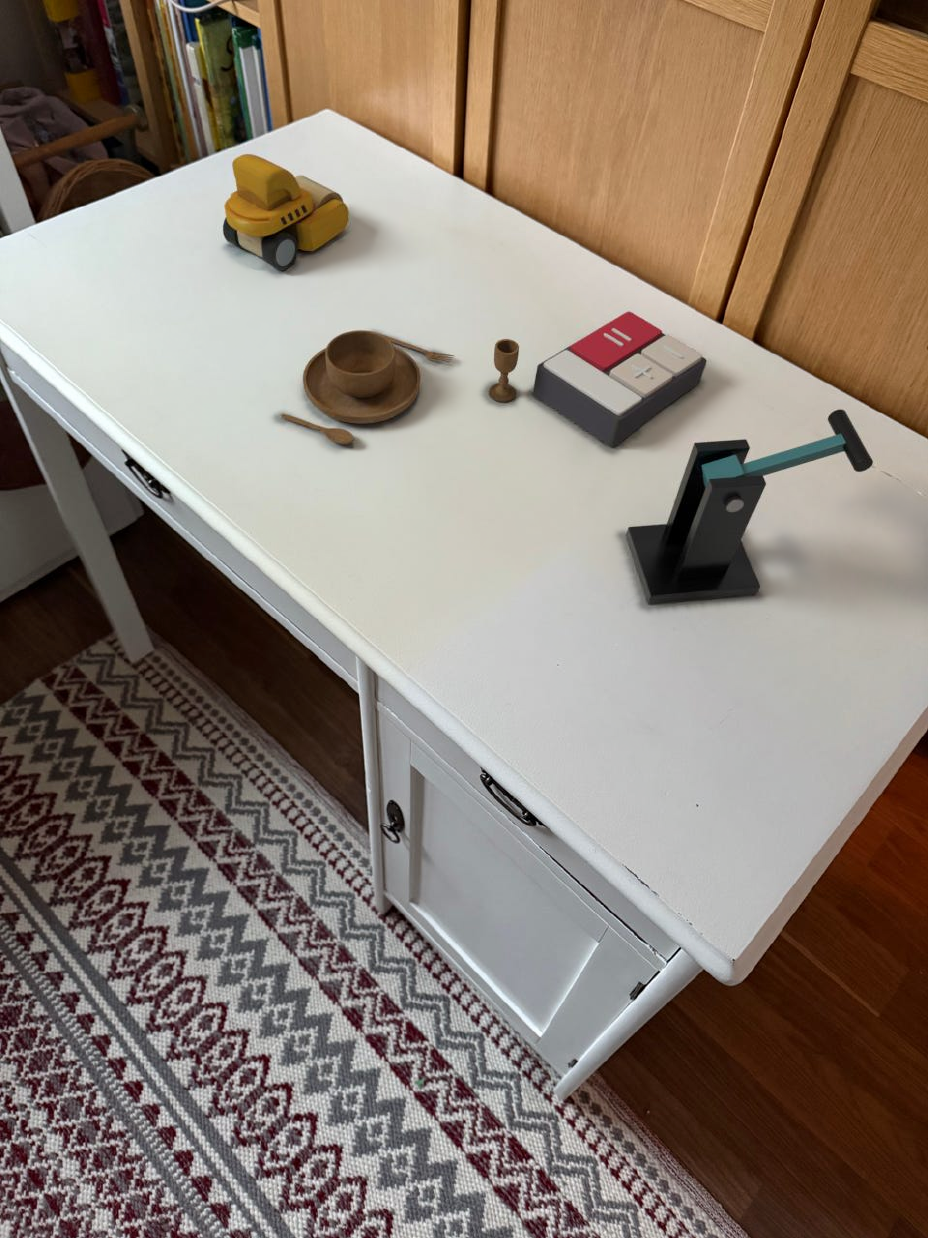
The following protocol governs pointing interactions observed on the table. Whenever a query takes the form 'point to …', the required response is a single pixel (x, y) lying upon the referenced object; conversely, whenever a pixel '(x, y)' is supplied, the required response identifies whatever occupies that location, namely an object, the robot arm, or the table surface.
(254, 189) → the toy roller
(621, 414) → the calculator
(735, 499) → the bracket
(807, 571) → the table surface
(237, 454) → the table surface
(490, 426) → the table surface
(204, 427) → the table surface
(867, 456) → the lever
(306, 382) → the place setting
